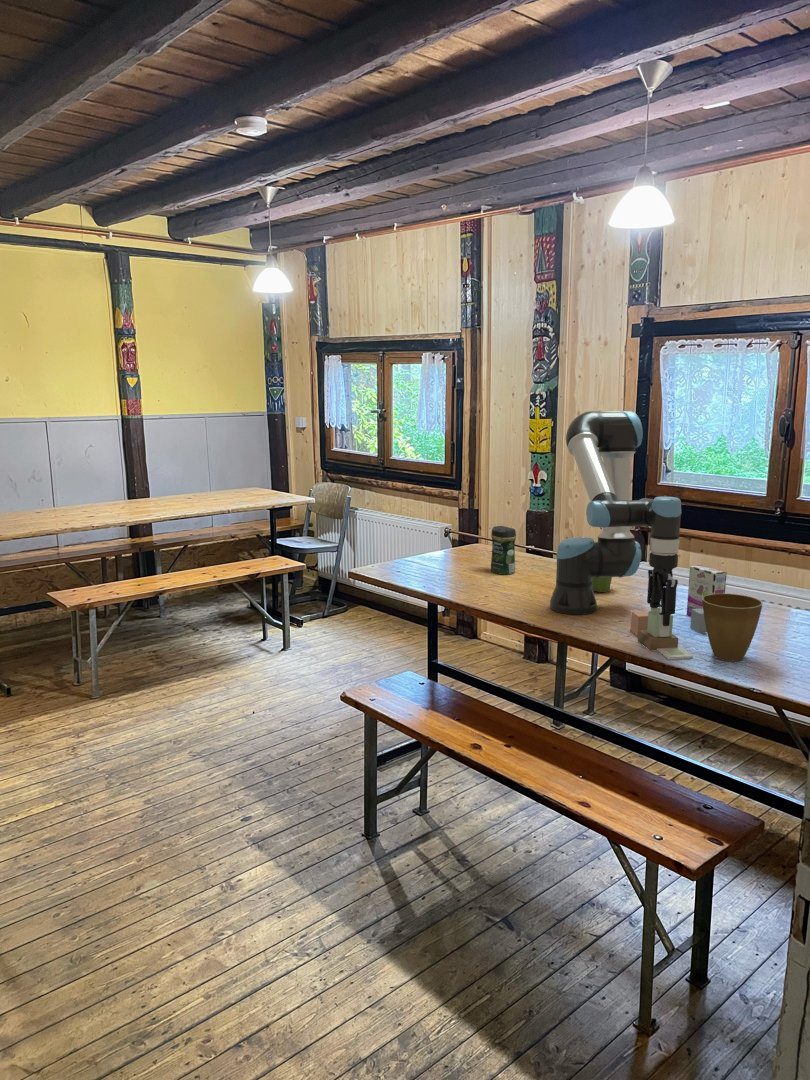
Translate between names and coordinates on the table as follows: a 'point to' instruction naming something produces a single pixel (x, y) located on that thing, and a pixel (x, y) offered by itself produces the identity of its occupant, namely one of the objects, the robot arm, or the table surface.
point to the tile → (674, 653)
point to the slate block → (698, 621)
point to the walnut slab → (657, 641)
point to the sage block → (656, 623)
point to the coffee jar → (503, 550)
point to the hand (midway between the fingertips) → (659, 633)
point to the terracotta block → (639, 621)
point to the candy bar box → (704, 585)
